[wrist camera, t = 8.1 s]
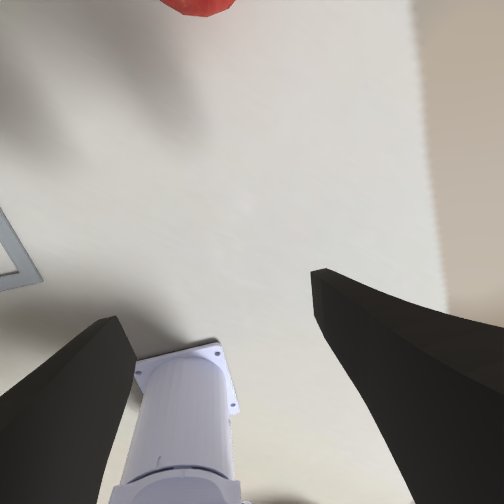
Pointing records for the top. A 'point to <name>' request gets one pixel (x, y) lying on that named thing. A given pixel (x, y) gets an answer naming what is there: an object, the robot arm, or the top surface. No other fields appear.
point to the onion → (199, 6)
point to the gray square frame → (16, 259)
